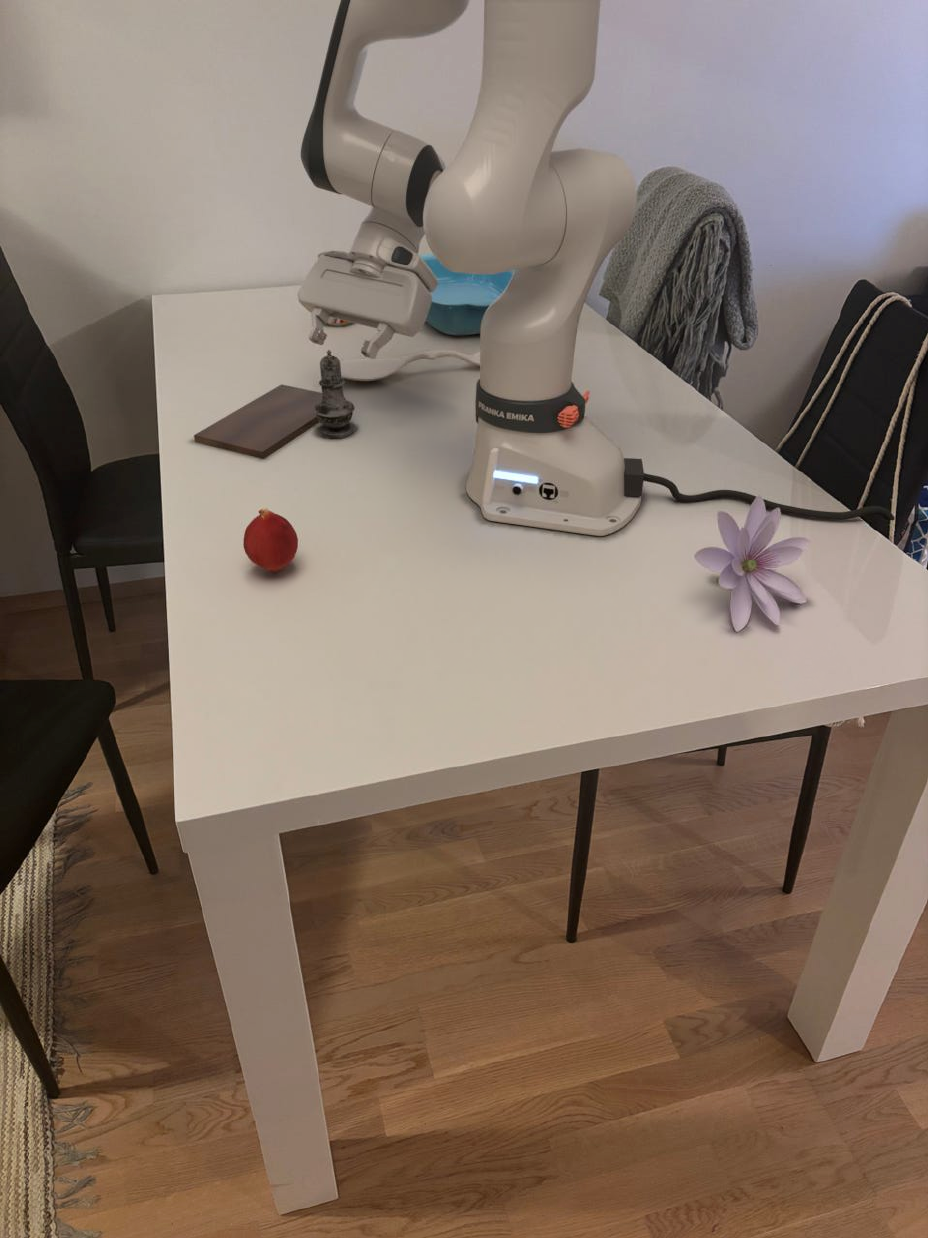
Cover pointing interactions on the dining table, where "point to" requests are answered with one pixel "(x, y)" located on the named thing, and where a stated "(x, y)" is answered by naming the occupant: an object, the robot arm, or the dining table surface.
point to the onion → (270, 541)
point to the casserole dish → (462, 298)
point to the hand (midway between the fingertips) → (340, 348)
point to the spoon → (394, 364)
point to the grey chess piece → (333, 401)
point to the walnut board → (264, 422)
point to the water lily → (754, 563)
